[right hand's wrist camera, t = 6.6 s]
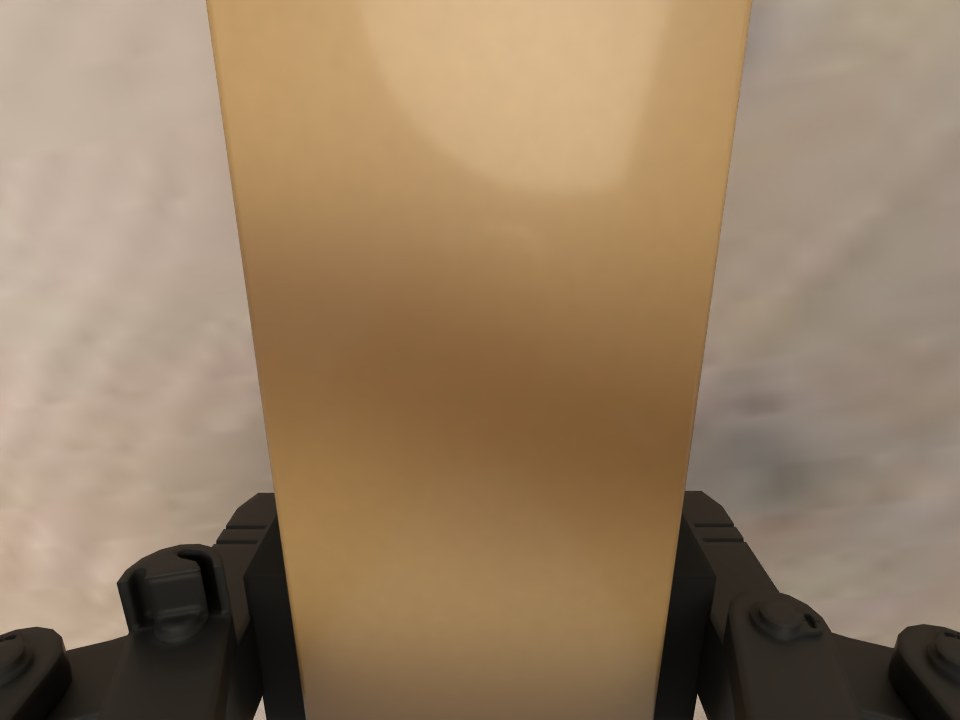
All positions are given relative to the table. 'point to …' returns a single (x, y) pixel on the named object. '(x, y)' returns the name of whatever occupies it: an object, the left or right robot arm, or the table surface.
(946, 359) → the table surface
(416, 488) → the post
